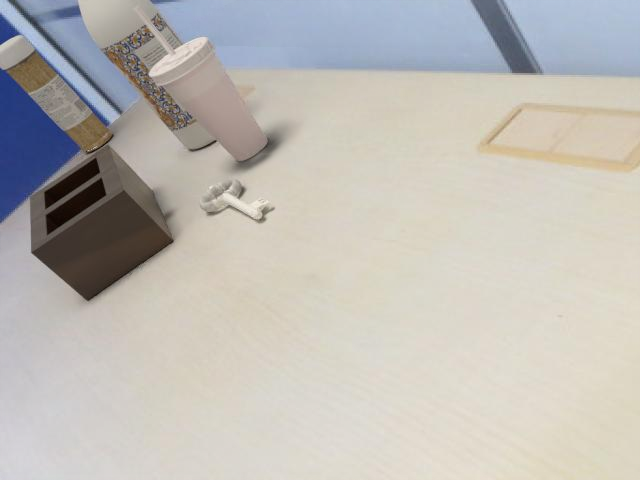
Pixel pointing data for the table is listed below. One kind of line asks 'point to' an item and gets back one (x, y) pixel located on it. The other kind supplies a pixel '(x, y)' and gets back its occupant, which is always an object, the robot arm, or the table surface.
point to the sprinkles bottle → (52, 94)
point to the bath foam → (141, 58)
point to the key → (230, 199)
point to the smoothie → (207, 93)
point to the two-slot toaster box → (96, 223)
